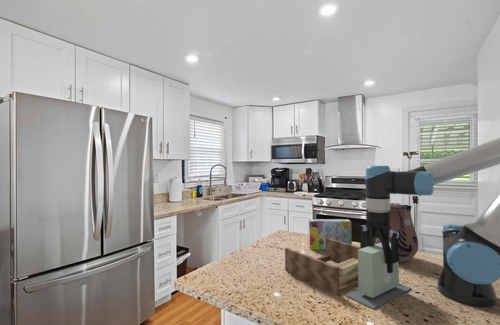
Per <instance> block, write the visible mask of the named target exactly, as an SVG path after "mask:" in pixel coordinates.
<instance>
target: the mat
mask: <svg viewBox="0 0 500 325" xmlns="http://www.w3.org/2000/svg"><path fill="white" fill-rule="evenodd" d="M411 290H412V287H410V286H407V285H403V284H401V283H399V285H398V286H396V287H394V288H392V289H390V290H388V291H386V292H384V293H382V294H380V295H378V296H376V297H374V298H371V297H369V296H367V295H364V294H362V293H360V292H358V288H357V289H355V290H353V291H351V292H349V293H346V294H344V295H345V297H346V298H348V299H351V300H353V301H355V302H357V303H359V304H361V305H363V306H365V307H368V308H369V309H371V310H376V309H378V308H379V307H382V306H383V305H384V304H387V303H389V302H390V301H392V300H394V299H396V298H398V297H400V296H403V294H406V293H408V292H409V291H411Z"/></svg>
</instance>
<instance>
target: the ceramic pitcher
mask: <svg viewBox="0 0 500 325" xmlns="http://www.w3.org/2000/svg"><path fill="white" fill-rule="evenodd" d="M366 211H367V209H366V210H365V212H366ZM389 212H390V217H391V222H390V226H391V229H392V230H393V231H395V232H399V233H400V236H399V239H398V241H399V262H408V261H410V260H412V258H414V257H415V256H416V255H417V252H418V249H419V240H418V236H417V232H416V229H415V226H414V222H413V220H412V219H413V218H412V214H411V212H412V205H409V204H401V203H399V202H397V203H396V202H390V210H389ZM388 238H389V243H391V237H390V233H389V235H388ZM378 243H381V242H380V239H379V238H376V241H375V244H378Z"/></svg>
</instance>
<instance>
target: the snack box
mask: <svg viewBox="0 0 500 325" xmlns="http://www.w3.org/2000/svg"><path fill="white" fill-rule="evenodd" d="M307 221H308V222H307V224H308V225H307V227H308V228H307V229H308V231H307V232H308V248H309V250H312V251H314V250H315V251H316V250H317V251H318V250H319V251H326V238H330V239H334V240H337V241H341V242H344V243H348V244H351V245H353V242H352V240H353V238H352V236H353V235H352V234H353V233H352V221H351V220H350V219H344V218H343V219H341V218H339V219H338V218H335V219H332V218H331V219H328V218H327V219H323V218H322V219H321V218H317V219H315V218H313V219H312V218H311V219H310V218H309V219H308V220H307Z"/></svg>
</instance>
